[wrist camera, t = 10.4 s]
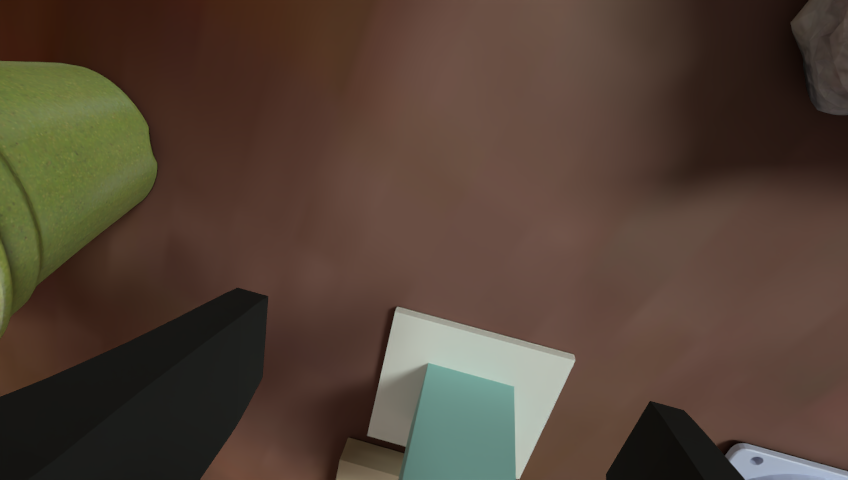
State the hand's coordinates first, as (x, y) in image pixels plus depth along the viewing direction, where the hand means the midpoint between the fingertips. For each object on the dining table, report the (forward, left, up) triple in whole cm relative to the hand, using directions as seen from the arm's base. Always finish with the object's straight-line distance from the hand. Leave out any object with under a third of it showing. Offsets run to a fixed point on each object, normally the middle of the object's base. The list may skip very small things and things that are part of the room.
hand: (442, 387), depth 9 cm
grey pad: (-2, +10, -10) cm, 15 cm away
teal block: (-2, +10, -10) cm, 14 cm away
